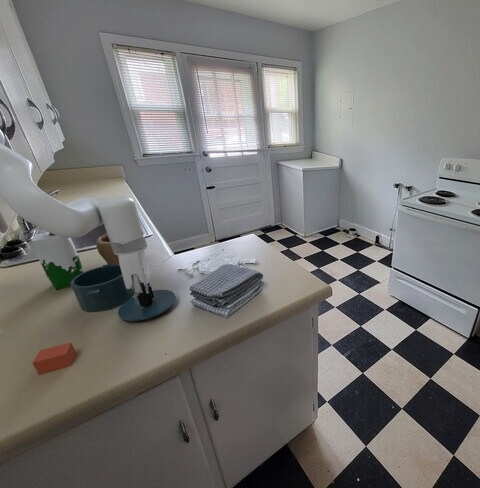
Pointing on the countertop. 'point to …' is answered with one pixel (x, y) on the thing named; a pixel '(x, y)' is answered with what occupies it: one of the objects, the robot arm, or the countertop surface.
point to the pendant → (218, 262)
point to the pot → (101, 288)
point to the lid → (136, 312)
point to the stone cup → (106, 250)
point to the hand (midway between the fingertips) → (147, 301)
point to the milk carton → (57, 258)
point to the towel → (226, 289)
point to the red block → (54, 358)
